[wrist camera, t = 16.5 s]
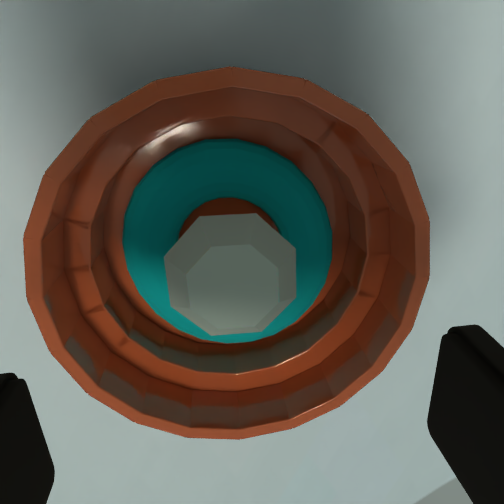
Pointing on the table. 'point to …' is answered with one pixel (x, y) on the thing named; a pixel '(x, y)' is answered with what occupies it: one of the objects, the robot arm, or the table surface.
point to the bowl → (226, 127)
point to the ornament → (227, 241)
